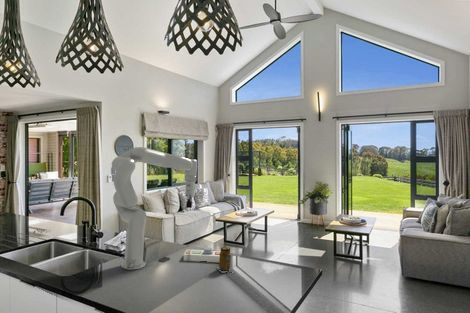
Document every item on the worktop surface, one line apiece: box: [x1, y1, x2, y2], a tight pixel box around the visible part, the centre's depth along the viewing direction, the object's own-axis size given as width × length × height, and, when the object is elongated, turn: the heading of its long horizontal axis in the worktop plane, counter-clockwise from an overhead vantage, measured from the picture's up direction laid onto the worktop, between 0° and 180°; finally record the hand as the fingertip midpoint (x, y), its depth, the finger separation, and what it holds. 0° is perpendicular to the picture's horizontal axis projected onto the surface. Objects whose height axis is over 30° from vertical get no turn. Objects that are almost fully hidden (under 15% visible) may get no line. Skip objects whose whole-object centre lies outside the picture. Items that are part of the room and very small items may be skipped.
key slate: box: [203, 246, 213, 255], centre depth 179 cm, size 4×4×4 cm
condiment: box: [218, 246, 234, 274], centre depth 162 cm, size 7×8×12 cm
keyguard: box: [183, 248, 221, 263], centre depth 179 cm, size 10×25×4 cm, turn 90°
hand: (189, 207), depth 187 cm, fingers closed
